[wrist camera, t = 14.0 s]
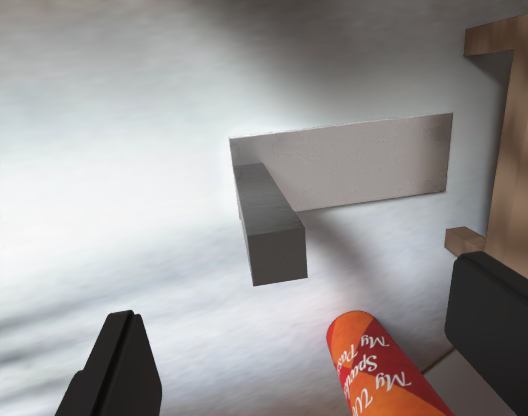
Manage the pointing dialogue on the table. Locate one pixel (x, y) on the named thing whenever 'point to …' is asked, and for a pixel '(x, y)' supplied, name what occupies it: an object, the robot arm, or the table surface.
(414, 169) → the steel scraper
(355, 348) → the coffee cup
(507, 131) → the walnut bench
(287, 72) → the table surface
